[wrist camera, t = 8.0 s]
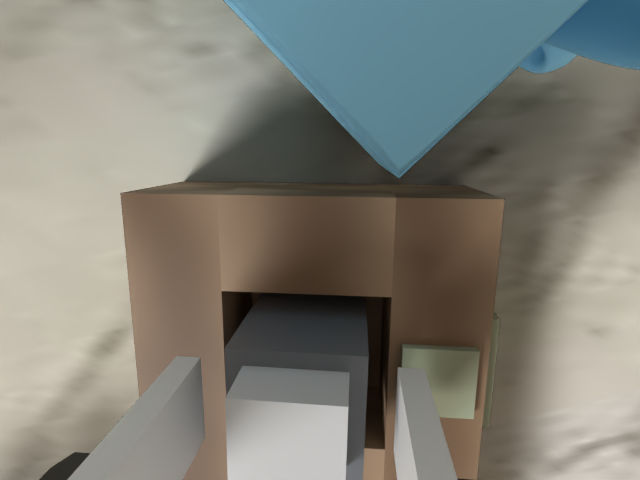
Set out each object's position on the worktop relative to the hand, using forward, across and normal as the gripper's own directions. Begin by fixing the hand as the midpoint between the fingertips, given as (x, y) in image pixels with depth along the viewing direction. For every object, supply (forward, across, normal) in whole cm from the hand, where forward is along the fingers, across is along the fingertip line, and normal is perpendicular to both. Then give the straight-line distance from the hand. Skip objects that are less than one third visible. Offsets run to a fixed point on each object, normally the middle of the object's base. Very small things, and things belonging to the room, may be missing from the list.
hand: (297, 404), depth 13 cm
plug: (+6, 0, 0) cm, 6 cm away
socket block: (+7, 0, -6) cm, 9 cm away
